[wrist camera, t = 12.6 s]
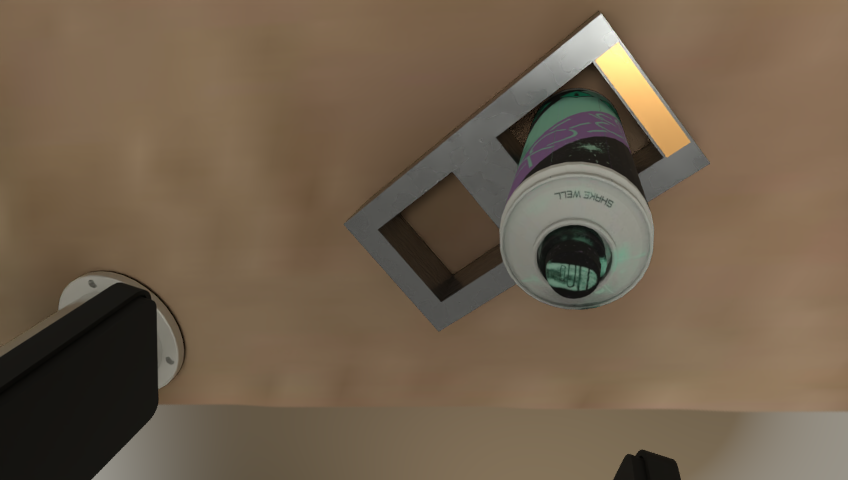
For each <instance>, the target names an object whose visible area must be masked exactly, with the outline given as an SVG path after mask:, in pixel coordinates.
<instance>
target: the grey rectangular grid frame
mask: <svg viewBox="0 0 848 480" xmlns="http://www.w3.org/2000/svg"><path fill="white" fill-rule="evenodd" d="M592 62H593V63H594V65H595V66H596V67H597V69H598V70H599V72H600V73H601V74H602V76H603V77H604V78H605V80H606V81H607V82H608V84H609V85H610V86H611V88H612V89H613V90H614V92H615V93H616V94H617V96H618V97H619V98H620V100H621V101H622V102H623V104H624V105H625V106H626V108H627V109H628V110H629V112H630V113H631V115H632V116H633V117H634V119H635V120H636V121H637V123H638V124H639V125H640V127H641V128H642V129H643V131H644V132H645V133H646V135H647V136H648V137H649V139H650V140H651V141H652V142H651V143H650V144H648V145H647V146H645V147H644V148H642V149H641V150H639V151H638V152H636V153H635V154H633V155H632V157H633V160H634V163H635V166H636V169H637V173H638V176H639V179H640V182H641V185H642V188H643V191H644V194H645V197H646V200H647V202H649V201H650V200H652V199H653V198H655V197H657V196H658V195H660V194H662V193H663V192H665V191H666V190H668V189H670V188H671V187H673V186H674V185H676V184H678V183H679V182H681V181H683V180H684V179H686V178H687V177H689V176H691V175H692V174H694V173H695V172H697V171H699V170H700V169H702V168H703V167H705V166H707V165H708V164H710V162H709V161H708V160H707V158H706V157H705V155H704V154H703V153H702V151H701V150H700V149H699V147H698V146H697V145H696V143H695V142H694V140H693V139H692V138H691V136H690V135H689V134H688V132H687V131H686V129H685V128H684V127H683V125H682V124H681V123H680V121H679V120H678V118H677V117H676V116H675V114H674V113H673V112H672V110H671V109H670V107H669V106H668V105H667V103H666V102H665V101H664V99H663V98H662V96H661V95H660V94H659V92H658V91H657V90H656V88H655V87H654V85H653V84H652V83H651V81H650V80H649V79H648V77H647V76H646V74H645V73H644V72H643V70H642V69H641V68H640V66H639V65H638V63H637V62H636V61H635V59H634V58H633V57H632V55H631V54H630V52H629V51H628V50H627V48H626V47H625V46H624V44H623V43H622V41H621V40H620V39H619V37H618V36H617V35H616V33H615V32H614V30H613V29H612V28H611V26H610V25H609V24H608V22H607V21H606V19H605V18H604V17H603V15H602V14H601V13H600V12H599V11H598V12H596V13H595V14H594V15H593V16H592V17H590V18H589V19H588V20H587V21H585V22H584V23H583V24H582V25H581V26H579V27H578V28H577V29H576V30H574V31H573V32H572V33H571V34H570V35H568V36H567V37H566V38H565V39H564V40H562V41H561V42H560V43H559V44H557V45H556V46H555V47H554V48H553V49H551V50H550V51H549V52H548V53H546V54H545V55H544V56H543V57H542V58H540V59H539V60H538V61H537V62H536V63H534V64H533V65H532V66H531V67H529V68H528V69H527V70H526V71H525V72H523V73H522V74H521V75H520V76H519V77H517V78H516V79H515V80H514V81H512V82H511V83H510V84H509V85H508V86H506V87H505V88H504V89H503V90H501V91H500V92H499V93H498V94H497V95H495V96H494V97H493V98H492V99H491V100H489V101H488V102H487V103H486V104H484V105H483V106H482V107H481V108H480V109H478V110H477V111H476V112H475V113H473V114H472V115H471V116H470V117H469V118H467V119H466V120H465V121H464V122H463V123H461V124H460V125H459V126H458V127H456V128H455V129H454V130H453V131H452V132H450V133H449V134H448V135H447V136H446V137H444V138H443V139H442V140H441V141H439V142H438V143H437V144H436V145H435V146H433V147H432V148H431V149H430V150H428V151H427V152H426V153H425V154H424V155H422V156H421V157H420V158H419V159H418V160H416V161H415V162H414V163H413V164H411V165H410V166H409V167H408V168H407V169H405V170H404V171H403V172H402V173H400V174H399V175H398V176H397V177H396V178H394V179H393V180H392V181H391V182H390V183H388V184H387V185H386V186H385V187H383V188H382V189H381V190H380V191H379V192H377V193H376V194H375V195H374V196H373V197H371V198H370V199H369V200H368V201H366V202H365V203H364V204H363V205H362V206H361V207H360V208H359V209H358V210H357V211H356V212H355V213H354V214H353V215H352V216H351V217H350V218H349V219H348V220H347V221H346V222H345V223H344V225H345V226H346V228H347V229H348V230H349V231H350V232H351V233H352V234H353V235H354V237H355V238H356V239H357V240H358V241H359V242H360V243H361V245H362V246H363V247H364V248H365V249H366V250H367V251H368V252H369V254H370V255H371V256H372V257H373V258H374V259H375V260H376V261H377V263H378V264H379V265H380V266H381V267H382V268H383V269H384V270H385V272H386V273H387V274H388V275H389V276H390V277H391V278H392V279H393V281H394V282H395V283H396V284H397V285H398V286H399V287H400V289H401V290H402V291H403V292H404V293H405V294H406V295H407V296H408V298H409V299H410V300H411V301H412V302H413V303H414V304H415V305H416V307H417V308H418V309H419V310H420V311H421V312H422V313H423V314H424V316H425V317H426V318H427V319H428V320H429V321H430V322H431V323H432V325H433V326H434V327H435V328H436V329H437V330H438V331H441V330H442V329H444V328H445V327H447V326H449V325H450V324H452V323H454V322H455V321H457V320H458V319H460V318H462V317H463V316H465V315H466V314H468V313H470V312H471V311H473V310H475V309H476V308H478V307H479V306H481V305H483V304H484V303H486V302H487V301H489V300H491V299H492V298H494V297H495V296H497V295H499V294H500V293H502V292H504V291H505V290H507V289H508V288H510V287H512V286H513V285H515V284H516V283H515V281H514V280H513V279H512V278H511V276H510V275H509V273H508V271H507V269H506V267H505V265H504V262H503V259H502V255H501V252H500V244H499V245H498V246H496V247H495V248H493V249H492V250H490V251H489V252H487V253H486V254H484V255H483V256H481V257H480V258H478V259H477V260H475V261H474V262H472V263H471V264H469V265H468V266H466V267H465V268H463V269H462V270H460V271H459V272H457V273H456V274H454V275H452V274H451V273H450V272H449V271H448V269H447V268H446V267H445V266H444V265H443V264H442V262H441V261H440V260H439V259H438V258H437V257H436V256H435V254H434V253H433V252H432V251H431V250H430V249H429V247H428V246H427V245H426V244H425V243H424V242H423V240H422V239H421V238H420V237H419V236H418V235H417V233H416V232H415V231H414V230H413V229H412V228H411V226H410V225H409V224H408V223H407V222H406V221H405V220H404V218H403V217H402V216H401V215H400V214H399V213H400V212H401V211H402V210H403V209H405V208H406V207H407V206H409V205H410V204H411V203H412V202H414V201H415V200H416V199H418V198H419V197H420V196H421V195H423V194H424V193H425V192H427V191H428V190H429V189H430V188H432V187H433V186H434V185H436V184H437V183H438V182H439V181H441V180H442V179H443V178H445V177H446V176H447V175H448V174H450V173H451V172H453V173H454V174H455V176H456V177H457V178H458V179H459V181H460V182H461V183H462V184H463V185H464V187H465V188H466V189H467V190H468V191H469V193H470V194H471V195H472V196H473V197H474V199H475V200H476V201H477V202H478V203H479V205H480V206H481V207H482V208H483V210H484V211H485V212H486V213H487V214H488V216H489V217H490V218H491V219H492V220H493V222H494V223H495V224H496V225H497V226H498V228H499V229H500V223H501V217H502V214H503V211H504V208H505V205H506V202H507V199H508V195H509V192H510V189H511V186H512V183H513V180H514V177H515V174H516V171H517V168H518V165H519V162H520V159H521V156H522V152H523V149H524V148H523V147H522V146H521V144H520V143H519V142H518V140H517V139H516V138H515V137H514V135H513V134H512V133H511V132H510V130H509V129H508V128H509V127H510V126H511V125H513V124H514V123H515V122H516V121H518V120H519V119H520V118H522V117H523V116H524V115H525V114H527V113H528V112H529V111H530V110H532V109H533V108H534V107H536V106H537V105H538V104H539V103H541V102H542V101H543V100H545V99H546V98H547V97H548V96H550V95H551V94H552V93H554V92H555V91H556V90H557V89H559V88H560V87H561V86H563V85H564V84H565V83H566V82H568V81H569V80H570V79H572V78H573V77H574V76H575V75H577V74H578V73H579V72H581V71H582V70H583V69H584V68H586V67H587V66H588V65H590V64H591V63H592Z"/></svg>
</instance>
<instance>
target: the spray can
mask: <svg viewBox="0 0 848 480" xmlns="http://www.w3.org/2000/svg"><path fill="white" fill-rule="evenodd" d="M499 231H500V252H501V255H502V259H503V262H504V265H505V267H506V269H507V271H508V273H509V275H510V276H511V278H512V279H513V280H514V281H515V283H516V284H517V285H518V286H519V287H520V288H521V289H522V290H524V291H525V292H526V293H527V294H528V295H530V296H532V297H533V298H535V299H537V300H538V301H540V302H543V303H545V304H548V305H551V306H554V307H559V308H564V309H578V310H582V309H589V308H596V307H599V306H603V305H606V304H609V303H611V302H613V301H615V300H617V299H619V298H621V297H622V296H624V295H625V294H626V293H627V292H629V291H630V290H631V289H633V288H634V286H635V285H636V284H637V283H638V282H639V281H640V280H641V278H642V277H643V275H644V273H645V272H646V270H647V268H648V266H649V263H650V260H651V257H652V253H653V239H654V226H653V221H652V215H651V212H650V209H649V206H648V203H647V200H646V197H645V194H644V191H643V188H642V185H641V182H640V179H639V176H638V173H637V169H636V166H635V163H634V160H633V157H632V154H631V151H630V148H629V145H628V142H627V139H626V136H625V133H624V130H623V127H622V124H621V121H620V118H619V116H618V113H617V111H616V109H615V108H614V106H613V105H612V104H611V102H610V101H609V100H608V99H606V98H605V97H604V96H603V95H601V94H599V93H598V92H595V91H592V90H589V89H583V88H572V89H567V90H563V91H561V92H558V93H556V94H554V95H553V96H551V97H550V98H549V99H547V100H546V101H545V102H544V103H543V104H542V105H541V107H540V108H539V110H538V111H537V113H536V114H535V117H534V119H533V122H532V125H531V128H530V131H529V134H528V137H527V140H526V143H525V146H524V149H523V152H522V156H521V159H520V162H519V165H518V168H517V171H516V174H515V177H514V180H513V183H512V186H511V189H510V192H509V195H508V199H507V202H506V205H505V208H504V211H503V214H502V217H501V223H500V230H499Z"/></svg>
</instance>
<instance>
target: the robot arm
mask: <svg viewBox="0 0 848 480" xmlns="http://www.w3.org/2000/svg"><path fill="white" fill-rule="evenodd" d="M183 358H184V346H183V339H182V336H181V333H180V330H179V327H178V325H177V323H176V321H175V319H174V317H173V316H172V315H171V313H170V312H169V310H168V309H167V307H166V306H165V305H164V304H163V303H162V302H161V301H160V300H159V299H158V297H157V296H155V295H154V294H153V293H152V292H151V291H149V290H148V289H147V288H146V287H144V286H143V285H141V284H139V283H138V282H136V281H135V280H132V279H130V278H128V277H126V276H123V275H120V274H116V273H113V272H105V271H97V272H90V273H87V274H85V275H82V276H80V277H79V278H77V279H75V280H74V281H72V282H71V283H69V284H68V286H67V287H66V288H65V289H64V290H63V293H62V295H61V297H60V301H59V311H57V312H56V313H54V314H53V315H51V316H49V317H48V318H46V319H45V320H43V321H41V322H40V323H38V324H37V325H35V326H33V327H32V328H30V329H29V330H27V331H25V332H24V333H22V334H21V335H19V336H17V337H16V338H14V339H13V340H11V341H9V342H8V343H6V344H5V345H3V346H1V347H0V480H91V479H92V478H93V477H94V476H95V475H96V474H97V473H98V472H99V471H100V470H101V469H102V468H103V467H104V466H105V465H106V464H107V463H108V462H109V461H110V460H111V459H112V458H113V457H114V456H115V455H116V454H117V453H118V452H119V451H120V450H121V448H123V447H124V446H125V445H126V444H127V443H128V442H129V441H130V440H131V438H132V437H133V436H134V435H135V434H136V433H137V432H138V431H139V430H140V429H141V428H142V427H143V426H144V425H145V424H146V423H147V422H148V421H149V420H150V419H151V418H152V416H153V415H154V413H155V411H156V409H157V406H158V389H160V388H161V387H163V386H165V385H167V384H168V383H169V382H170V381H171V380H172V379H173V378H174V377H175V376H176V375H177V373H178V372H179V370H180V369H181V366H182V363H183ZM614 480H681V478H680V474H679V470H678V466H677V463H676V461H675V460H673V459H670V458H667V457H664V456H661V455H658V454H655V453H652V452H648V451H645V450H640V451H638V453H637V454H636V456H634V455H631V454H627V455H626V456H625V458H624V459H623V462H622V463H621V465H620V467H619V469H618V471H617V473H616V475H615V477H614Z"/></svg>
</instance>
